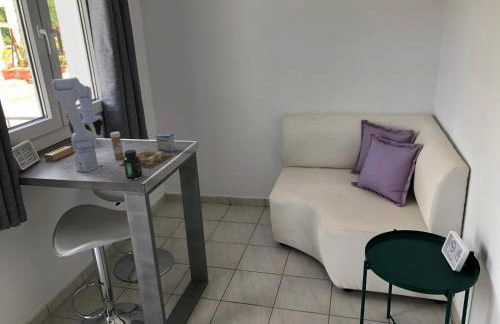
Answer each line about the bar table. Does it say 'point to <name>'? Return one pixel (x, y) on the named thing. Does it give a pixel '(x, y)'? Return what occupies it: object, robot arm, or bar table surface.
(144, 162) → the socket block
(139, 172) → the supplement bottle
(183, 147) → the bar table surface
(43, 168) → the bar table surface
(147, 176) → the bar table surface
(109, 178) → the bar table surface
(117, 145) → the sprinkles bottle
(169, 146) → the medicine box
